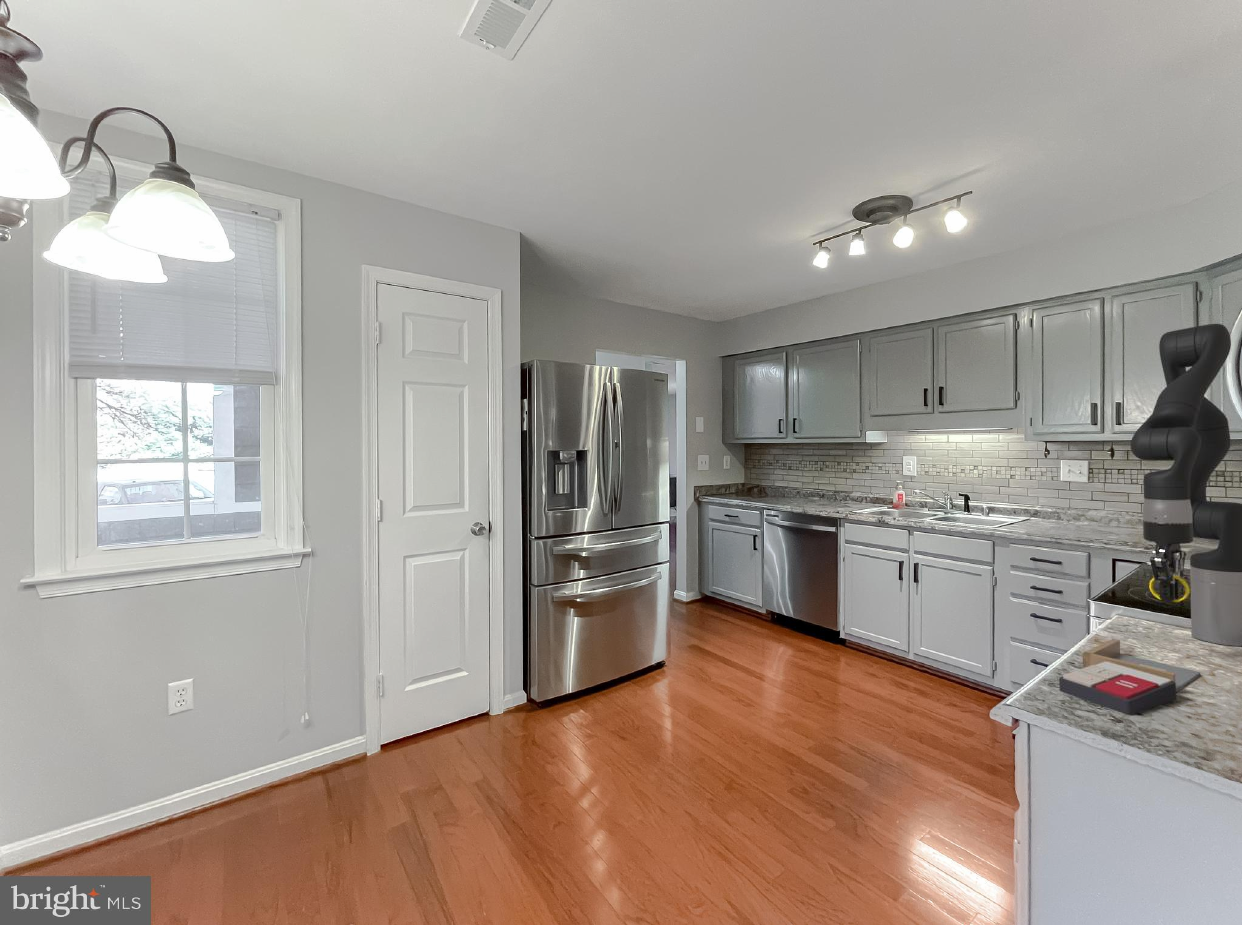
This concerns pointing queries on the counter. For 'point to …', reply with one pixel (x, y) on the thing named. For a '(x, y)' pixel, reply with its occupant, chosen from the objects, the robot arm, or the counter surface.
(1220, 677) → the counter surface
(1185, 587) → the watch
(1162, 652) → the counter surface
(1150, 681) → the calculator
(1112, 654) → the corner tray
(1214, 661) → the counter surface
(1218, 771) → the counter surface
